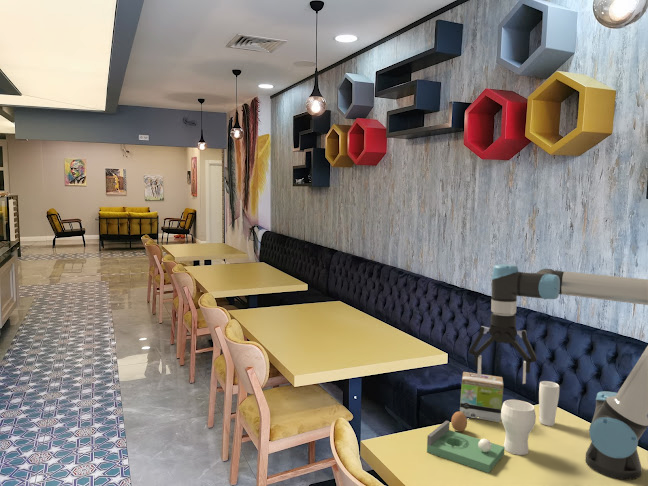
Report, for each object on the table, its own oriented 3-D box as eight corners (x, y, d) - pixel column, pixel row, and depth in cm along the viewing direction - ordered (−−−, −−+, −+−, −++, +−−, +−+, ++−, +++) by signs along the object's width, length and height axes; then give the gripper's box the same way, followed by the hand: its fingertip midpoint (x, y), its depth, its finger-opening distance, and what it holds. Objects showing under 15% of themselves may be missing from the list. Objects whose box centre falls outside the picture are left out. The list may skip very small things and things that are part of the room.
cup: (536, 459, 162) (539, 413, 161) (501, 455, 164) (504, 409, 163) (529, 444, 172) (532, 400, 171) (496, 440, 174) (499, 397, 173)
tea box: (459, 417, 193) (461, 378, 192) (460, 407, 202) (462, 370, 201) (501, 423, 188) (503, 384, 187) (500, 413, 198) (502, 375, 197)
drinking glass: (542, 418, 194) (545, 379, 193) (560, 424, 189) (563, 384, 188) (533, 422, 190) (536, 383, 189) (551, 428, 185) (554, 388, 184)
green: (504, 454, 164) (505, 437, 164) (488, 473, 152) (489, 455, 152) (445, 435, 176) (446, 420, 176) (426, 452, 164) (427, 435, 164)
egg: (448, 427, 183) (449, 408, 182) (463, 427, 184) (464, 408, 183) (454, 434, 178) (455, 414, 177) (469, 434, 178) (470, 414, 178)
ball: (492, 451, 161) (493, 438, 161) (488, 455, 158) (489, 443, 157) (480, 447, 163) (481, 435, 163) (475, 451, 160) (476, 439, 160)
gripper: (546, 314, 160) (544, 381, 161) (465, 307, 170) (463, 370, 171) (546, 319, 153) (543, 388, 154) (461, 311, 163) (459, 377, 164)
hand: (501, 379), depth 163 cm, fingers open, 13 cm apart
